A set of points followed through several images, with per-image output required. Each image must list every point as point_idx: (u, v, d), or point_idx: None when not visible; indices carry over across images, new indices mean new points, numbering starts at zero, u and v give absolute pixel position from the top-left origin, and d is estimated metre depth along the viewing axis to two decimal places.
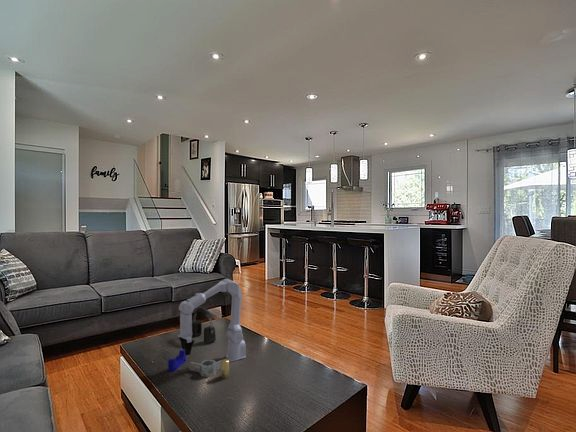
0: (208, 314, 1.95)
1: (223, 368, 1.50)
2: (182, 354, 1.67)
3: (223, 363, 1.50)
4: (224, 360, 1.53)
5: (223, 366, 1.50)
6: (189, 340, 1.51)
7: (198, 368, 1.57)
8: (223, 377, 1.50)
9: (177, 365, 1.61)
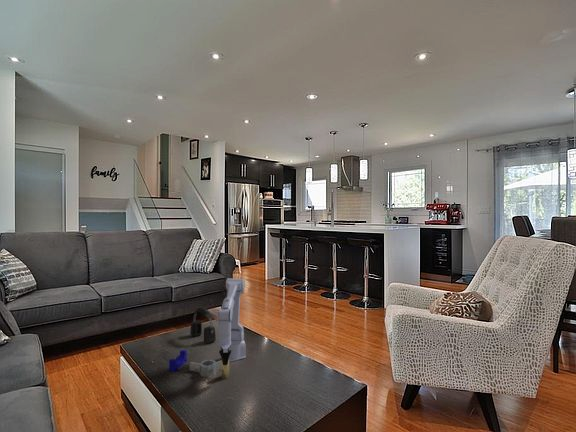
0: (208, 314, 1.95)
1: (223, 368, 1.50)
2: (183, 354, 1.67)
3: None
4: None
5: (223, 366, 1.50)
6: (225, 350, 1.45)
7: (198, 368, 1.57)
8: (223, 377, 1.50)
9: (178, 365, 1.61)
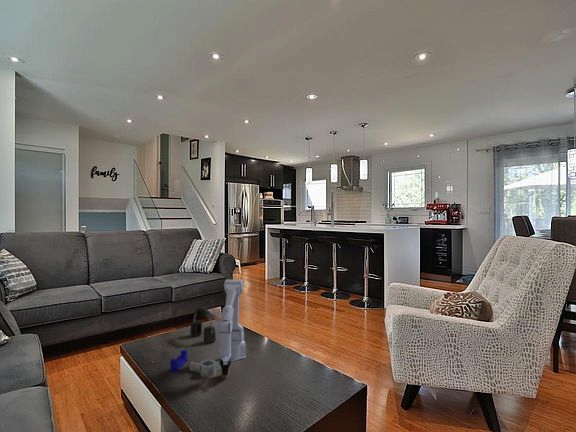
0: (208, 314, 1.95)
1: None
2: (184, 354, 1.67)
3: None
4: None
5: None
6: (225, 362, 1.45)
7: (198, 368, 1.57)
8: (223, 377, 1.50)
9: (179, 365, 1.61)
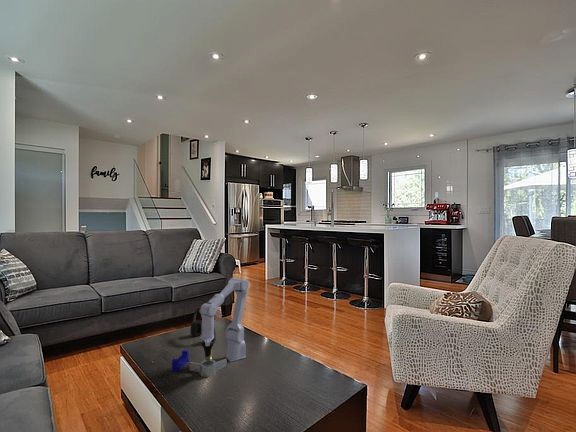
0: None
1: None
2: (185, 354, 1.67)
3: None
4: None
5: None
6: (207, 343, 1.49)
7: (198, 368, 1.57)
8: (206, 359, 1.54)
9: (181, 365, 1.61)
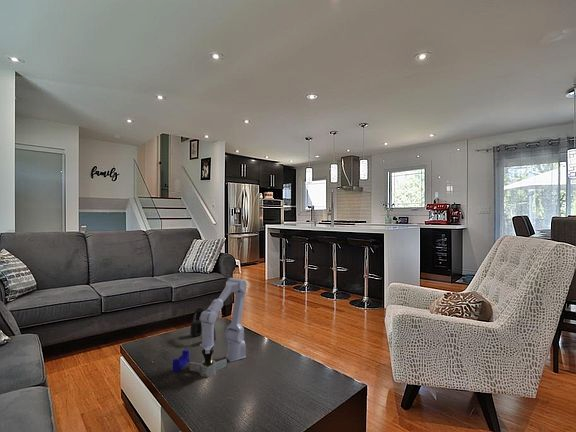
0: None
1: None
2: (185, 354, 1.67)
3: None
4: None
5: None
6: (207, 351, 1.49)
7: (198, 368, 1.57)
8: None
9: (181, 365, 1.61)
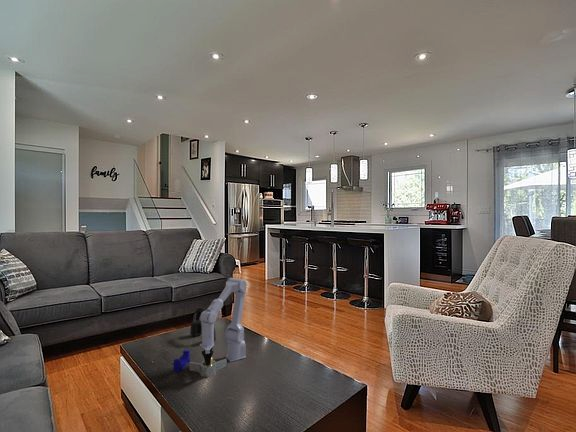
0: None
1: None
2: (186, 354, 1.67)
3: None
4: None
5: None
6: (207, 351, 1.49)
7: (198, 368, 1.57)
8: None
9: (182, 365, 1.61)
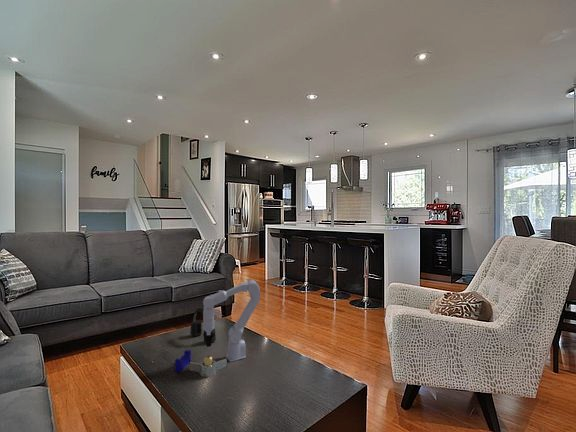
0: None
1: (206, 364, 1.54)
2: (187, 354, 1.67)
3: (206, 360, 1.54)
4: (208, 356, 1.56)
5: (206, 362, 1.54)
6: (208, 333, 1.62)
7: (198, 368, 1.57)
8: None
9: (184, 365, 1.61)
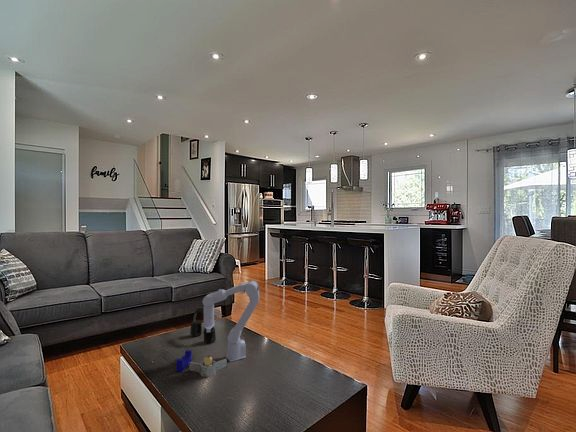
0: None
1: (206, 364, 1.54)
2: (188, 354, 1.67)
3: (206, 360, 1.54)
4: (208, 356, 1.56)
5: (206, 363, 1.54)
6: (208, 330, 1.66)
7: (198, 368, 1.57)
8: None
9: (185, 365, 1.61)
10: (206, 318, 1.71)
